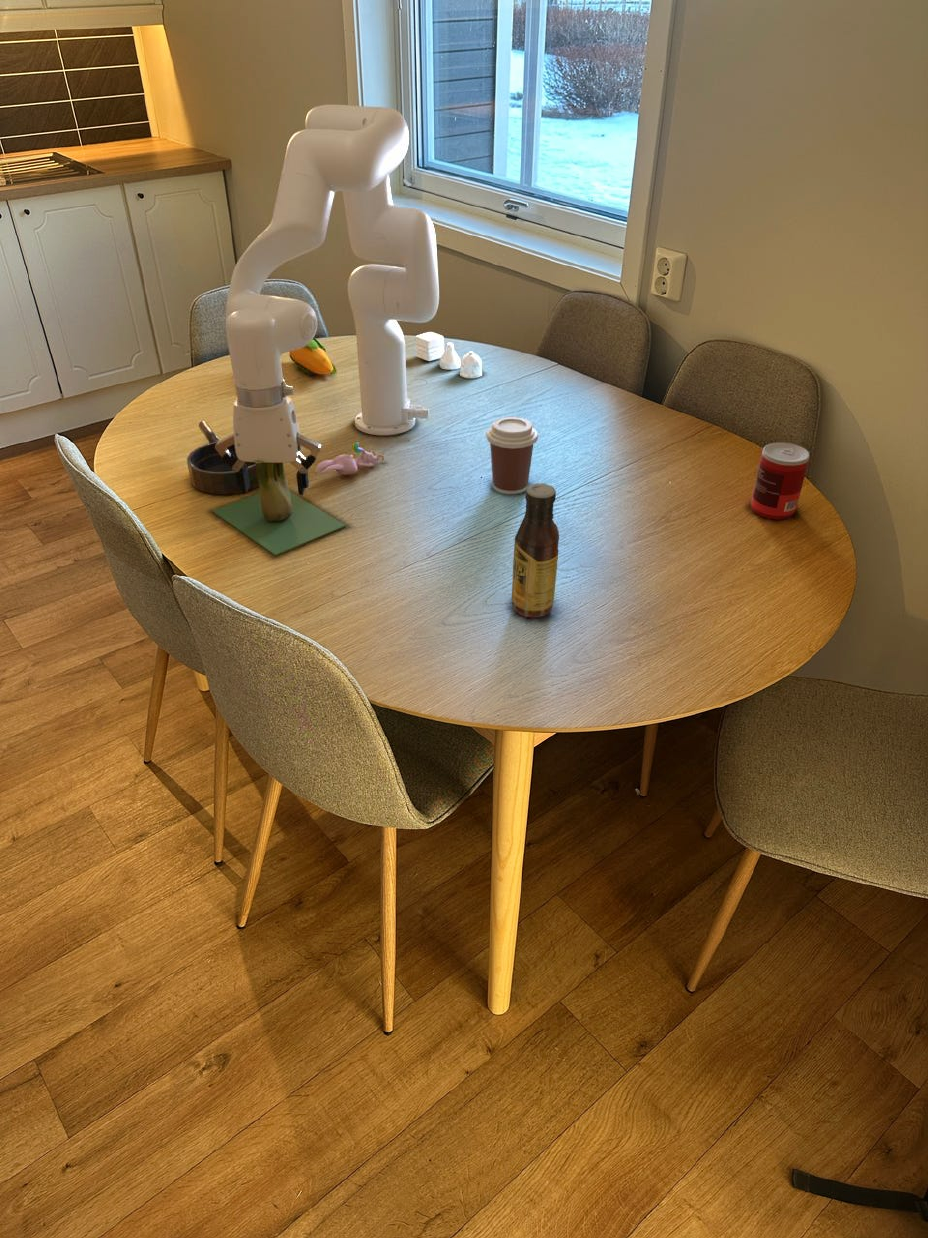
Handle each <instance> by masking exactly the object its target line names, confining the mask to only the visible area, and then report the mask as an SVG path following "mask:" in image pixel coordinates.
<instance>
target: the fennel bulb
mask: <svg viewBox="0 0 928 1238" xmlns="http://www.w3.org/2000/svg"><path fill="white" fill-rule="evenodd" d="M255 465H256V470H257V475H258V481H259V486H258V489H259V493H260V505H261V510H262V513H263V516H264V518H265V519H266V520H267V521H283V520H286V519H288V518H289V517H290V516H291V515H292V512H293V511H292V505H291V496H290V492H291V490H290V486H289V483H288V480H287V477H286V472H285V466H284V465H285V463H265V469H264V465H263V461H259V462H258V461H257V460H256V461H255Z"/></svg>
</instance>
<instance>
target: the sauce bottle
mask: <svg viewBox="0 0 928 1238" xmlns="http://www.w3.org/2000/svg"><path fill="white" fill-rule="evenodd" d="M556 495H557V491H556V489H555V487H554V486H552V485H550V484H547V483H541V482H539V483H532V484H531V485H528V487H527V489H526V490H525V496H524V498H525V501H526V503H525V512H524V517H523V518H522V521H521V523H520V525H519V528H518V530H517V532H516V534H515V536H514V546H513V547H514V548H513V560H512V561H513V564H512V581H511V582H512V583H511V601H512V602H511V605H512V608H513V610H514V611H515V612H516V613H517V614H518V615H520V616H521V617H524V618H532V619H534V618H535V619H536V618H542V617H544V616H547V615H548V614H550V613H551V611H552V609H553V605H554V603H555V592H556V582H557V574H558V573H557V570H558V563H559V562H558V561H559V551H560V550H559V540H560V532H559V529H558V525H557V524H556V523H555V522H554V520H553V519H554V504H555V501H556Z"/></svg>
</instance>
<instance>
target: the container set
mask: <svg viewBox="0 0 928 1238" xmlns="http://www.w3.org/2000/svg"><path fill="white" fill-rule="evenodd" d="M414 339H415V340H414V342H415V343H414V344H415V356H416V357H417V358H420V359H422V360H425V361H427V362H431V361H435V360H438V359H439V367H440V368H441V369H443V370H449V371H450V370H451V371H452V370H457V369H460V371H459V376H460V377H461V378H465V379H478V378H480V377H482V376H483V371H482V366H483V365H482V359H481V357H480V355H478V354H477V353H474V351H468V353H466V354H464V355H463V356H462V358H460V357H459V355H458V353H457V352H456V350H455V348H454V347H455V345H454V343H453V342H447V343H446V344H445V337H444V336H443V335H442V334H439V333H436V332H433V331H428V332H424V333H421V334H417V335H416V336H415V338H414ZM445 347H446V348H445Z"/></svg>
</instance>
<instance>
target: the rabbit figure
mask: <svg viewBox="0 0 928 1238" xmlns="http://www.w3.org/2000/svg"><path fill="white" fill-rule="evenodd" d="M359 444H360V442H358V441H357V442H354V443H353V444H352V445H351V450H352V452H353V453H354V454H358V455H359V456H358V458H354V454H350V455H349V454H340V455H337V456H335V457H334V458H333V459H326V460H323V461H321V462H318V464H317V466H316V467H315V470H314V472H316V473H318V472H319V471H321V472H320V475H324V474H326V473H328V472H331V471H335V472H336V473H338V474H339V475H345V476H347V475H348V476H350V475H353V474H356V473H357V472H358V468H363V467H372V468H373V467H376V466H378V464H379V462H380V459H381V461H382V463H384V462H386V461H385V453H383V454H381V453H380V454H378V455H377V454H376V450H374V451H373V450H370V451H366V450H365V449H363V448H362V447H360V446H359Z"/></svg>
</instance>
